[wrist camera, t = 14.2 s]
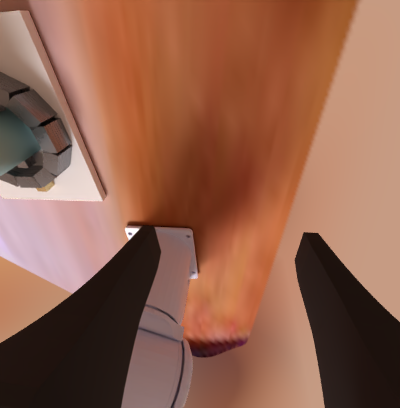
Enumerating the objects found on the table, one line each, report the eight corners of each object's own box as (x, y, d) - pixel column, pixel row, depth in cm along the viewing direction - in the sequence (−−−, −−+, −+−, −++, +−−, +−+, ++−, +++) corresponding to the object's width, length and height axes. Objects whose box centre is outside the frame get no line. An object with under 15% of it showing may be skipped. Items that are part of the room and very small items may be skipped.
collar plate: (106, 196, 24) (93, 214, 21) (8, 194, 25) (-13, 210, 23) (28, 10, 14) (-9, 8, 12) (-119, 26, 16) (-174, 27, 14)
